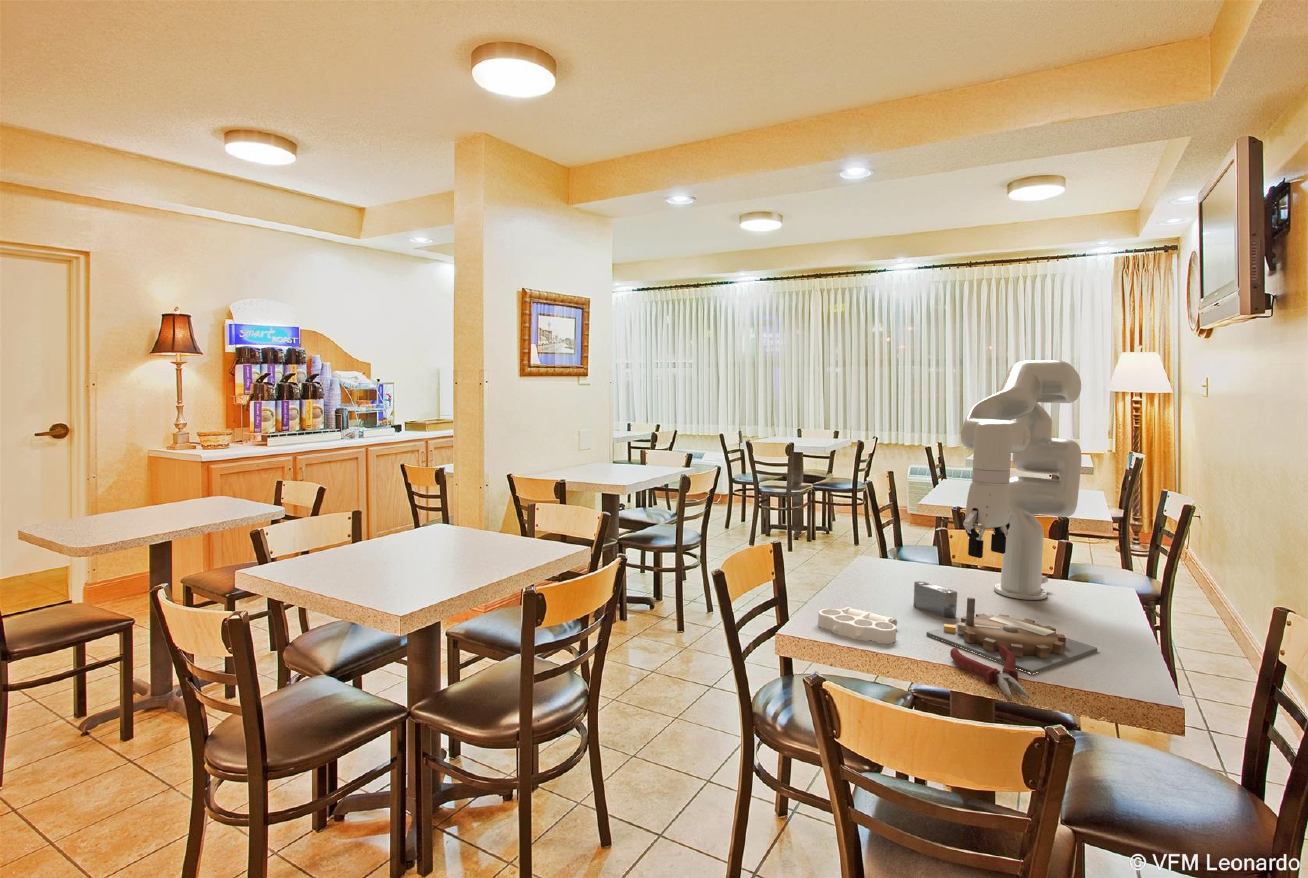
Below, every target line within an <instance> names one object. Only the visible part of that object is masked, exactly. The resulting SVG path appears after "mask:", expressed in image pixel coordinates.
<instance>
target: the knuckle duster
mask: <svg viewBox="0 0 1308 878" xmlns="http://www.w3.org/2000/svg"><path fill="white" fill-rule="evenodd" d="M817 615H818V616H817V618H818V619H817V625H818V627H820V628H821V629H827V630H829V631H832V633H833V634H836V635H839V636H843V637H844V636H845V637H849V638H851V639H854V640H859V641H868V640H872V641H871V642H874V641H876V642H875V643H878V642H879V644H881V643H882V644H883V645H885V644H887V645H888V644H889V643H890V644H894V643H895V642H896V640H897V625H898V620H897V619H896V618H894V617H892V616H890V617H888V616H884V615H880V614H876V613H874V612H871V611H864V610H860V609H856V608H852V607H850V606H848V607H847V606H845V607H844V608H841V609H840V608H839V609H836V608H823V609H820V610H819V611H818V614H817ZM893 642H894V643H893ZM882 644H881V645H882Z"/></svg>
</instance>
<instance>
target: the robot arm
mask: <svg viewBox="0 0 1308 878" xmlns="http://www.w3.org/2000/svg"><path fill="white" fill-rule="evenodd" d="M1081 391H1082V379H1081V377H1080V375H1079V373H1078V371H1077V370H1076V369H1075V367H1074V366H1073V365H1072V364H1070V363H1068V362H1066V361H1063V360H1023V361H1018V362H1016V363H1015V364H1014V365H1012V366H1011V367H1010V368H1009V370H1008V371H1007V373H1006V376H1005V378H1004V381H1003V383H1002V385H1001V387H1000V390H999V392H997V393H995V394H992V395H990V396H988V397H986V398H984V399H982V400H980V401H979V402H977V403H976V404H974V405H973V406H972V407H971V409H969V411H968V413H967V415H966V418H965V419H964V422H963V424H962V427H961V431H960V440H961V443H962V445H963V447H965V448H966V449H968V450H971V451H973V457H972V458H973V459H972V475H971V476H972V477H971V478H972V479H971V483H970V485H969V488H968V493H967V499H966V506H965V507H966V508H965V517H964V518H965V519H964V521H963V523H962V524H963V527H964V529H965V533H966V535H967V536H966V537H967V539H968V546H967V547H968V550H967V552H968V553H967V554H968V557H973V558H978V559H982V558H983V556H984V540H983V536H984V533H985V532H986V530H989V529H990V530H991V529H992V532H993V533H991V542H990V551H991V552H992V553H997V554H1002V557H1001V573H1000V575H1001V576H1000V582H999V583H998V582H997V583H996V584H994V586H993V590H994V591H995V592H996V593H997V594H999V595H1002V596H1004V597H1008V598H1011V599H1017V600H1028V601H1039V600H1044V599H1046V598H1047V597H1048V592H1047V591H1046V590H1045V589H1043V588H1041V587H1042V585H1043V584H1046V583H1048V582H1049V578H1048V576H1045V575H1042V569H1043V554H1044V553H1043V552H1044V551H1043V550H1044V539H1045V537H1044V536H1045V534H1044V533H1045V532H1044V531H1045V530H1044V528H1043V525H1042V524H1041V522H1040V521H1039V520H1038V519H1037V517H1036V516H1035V515H1043V516H1052V517H1060V518H1061V517H1063V518H1067V517H1071V516H1072V515H1074V514H1075V513H1076V510H1077V507H1078V500H1079V491H1080V490H1079V489H1080V481H1081V480H1080V479H1081V472H1082V450H1081V447H1080V445H1079V443H1078V442H1076V441H1075V440H1072V439H1067V438H1066V439H1065V438H1052V437H1051V436H1052V428H1053V420H1052V418H1051V416H1050V415H1049V413H1048V412H1047V410H1046V409H1045V408H1044V407H1043V406H1041V404H1040V403H1045V404H1047V403H1049V404H1050V403H1051V404H1071V403H1074V402H1075V401H1076V400H1078V399H1079V397H1080V395H1081ZM1011 460H1012V465H1013V468H1015V469H1016V470H1017V471H1020V472H1023V473H1032V474H1041V475H1054V476H1058V477H1059V478H1058V479H1056V478H1055V479H1054V478H1042V477H1033V476H1013V477H1011ZM977 530H978V531H977Z"/></svg>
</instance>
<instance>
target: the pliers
mask: <svg viewBox="0 0 1308 878" xmlns="http://www.w3.org/2000/svg"><path fill="white" fill-rule="evenodd" d="M999 654H1000V657H1001V658H1002V659H1003V660H1004V661H1005V665H1004V664H1003V665H1004V666H1003V668H1002V672H1001V670H999V669H998V668H996V667H991V666H988V665H986V664H985V663H982V662H979V661H977V660H974V659H972V658H969V657H967V656H966V655H963V654H962V653H961V652H960V651H959V649H958V647H952V648H951V649H950V654H949V655H950V658H951V659H952V660H953V662H954V663H955V665H956V666H958V667H959V668H961V669H962V670H965V671H967V672H969V673H971V674H974V675H976V676H978V677H980V678H983V679H985V683H986V685H989V686H992V685H999V689H1000V690H1002V691H1003V693H1005V695H1007V696H1008V697H1009V698H1010V699H1011V700H1013V695H1012V693H1011V690H1012V691H1014V693H1016V694H1019V695H1020V696H1023V697H1026V699H1029V698H1030V695H1029V694H1028V693H1027V692H1026V691H1025V689H1024V688H1023V686H1022V685H1021V684H1020V683H1019V672H1018V670H1017V669H1014V668H1015V665H1016V659H1015V656H1014V654H1013V653H1012V652H1011V651H1009V650H1008V649H1007V648H1006V647H1004V646H999ZM1010 687H1011V690H1010Z"/></svg>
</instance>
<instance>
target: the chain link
mask: <svg viewBox="0 0 1308 878" xmlns="http://www.w3.org/2000/svg"><path fill="white" fill-rule="evenodd" d="M957 603H958V592H957V591H956V590H953V589H950V588H947V587H942V586H941V585H936V584H933V583H929V582H926V581H920V580H919V581H914V584H913V606H912V607H914V608H916V609H920V610H922V611H925V612H928V613H931V612H932V613H931V614H934V615H937V616H940V617H942V616H943V618H945V619H955V618H957Z"/></svg>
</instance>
